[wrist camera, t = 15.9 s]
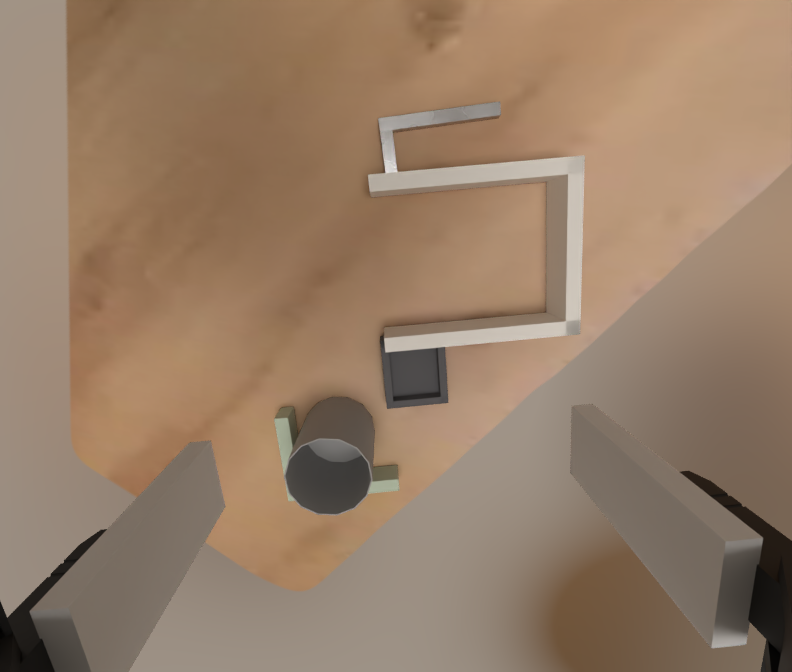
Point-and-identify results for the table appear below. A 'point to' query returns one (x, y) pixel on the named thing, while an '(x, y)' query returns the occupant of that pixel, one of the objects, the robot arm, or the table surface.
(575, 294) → the frame
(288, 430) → the dock
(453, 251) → the table surface
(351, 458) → the cup
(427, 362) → the tray
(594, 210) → the table surface
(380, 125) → the crook tool
